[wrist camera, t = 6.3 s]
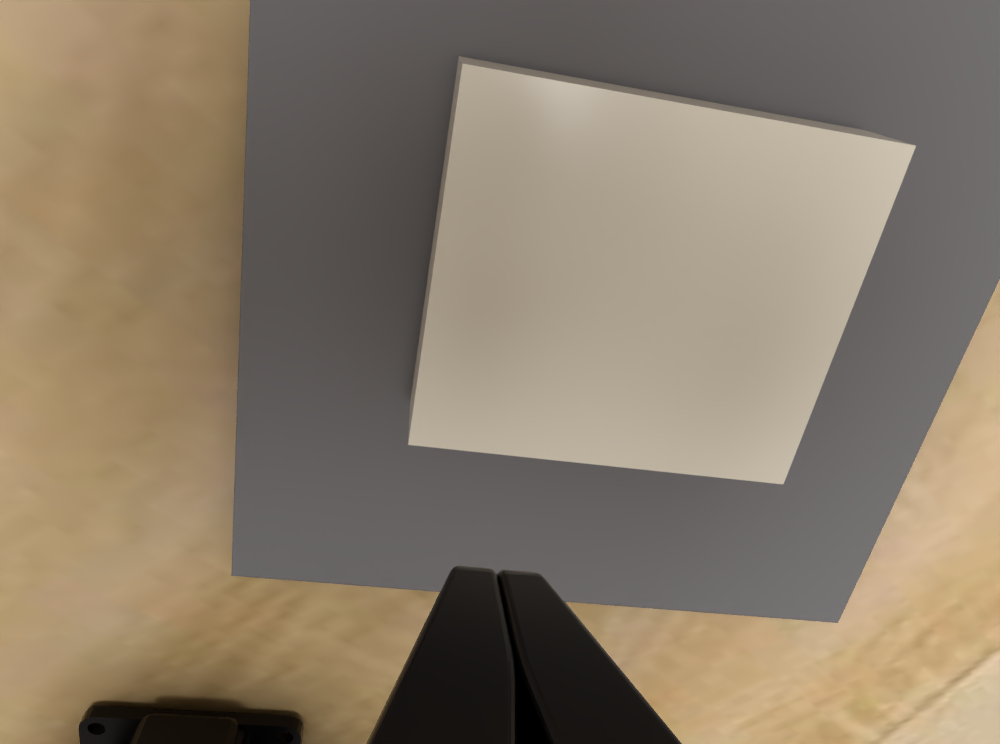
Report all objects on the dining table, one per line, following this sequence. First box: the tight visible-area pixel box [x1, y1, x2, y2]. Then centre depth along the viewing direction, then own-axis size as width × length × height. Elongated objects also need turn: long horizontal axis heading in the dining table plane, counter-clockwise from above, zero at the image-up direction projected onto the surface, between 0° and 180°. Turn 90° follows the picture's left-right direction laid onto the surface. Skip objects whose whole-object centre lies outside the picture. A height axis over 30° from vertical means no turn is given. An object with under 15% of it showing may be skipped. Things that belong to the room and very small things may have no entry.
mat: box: [232, 0, 1000, 623], centre depth 18 cm, size 20×18×1 cm
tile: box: [408, 56, 916, 484], centre depth 17 cm, size 8×2×9 cm
